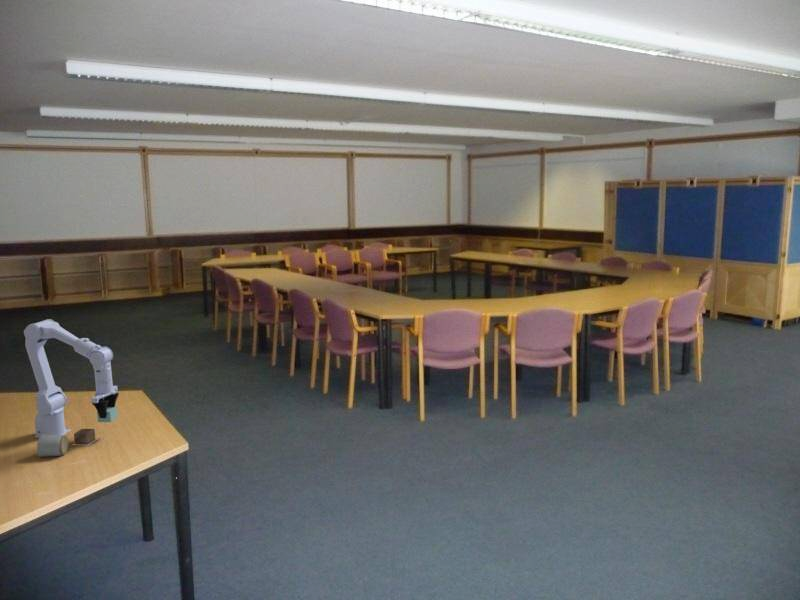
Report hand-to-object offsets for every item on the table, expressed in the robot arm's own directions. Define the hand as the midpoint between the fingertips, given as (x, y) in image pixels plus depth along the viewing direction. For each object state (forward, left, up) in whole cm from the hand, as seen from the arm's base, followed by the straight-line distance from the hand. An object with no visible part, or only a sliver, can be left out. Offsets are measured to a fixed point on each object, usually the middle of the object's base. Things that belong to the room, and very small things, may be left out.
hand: (107, 415), depth 238 cm
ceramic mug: (-12, -15, -9) cm, 21 cm away
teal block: (0, 0, -2) cm, 2 cm away
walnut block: (-6, -5, -8) cm, 12 cm away
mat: (-8, -5, -9) cm, 13 cm away
